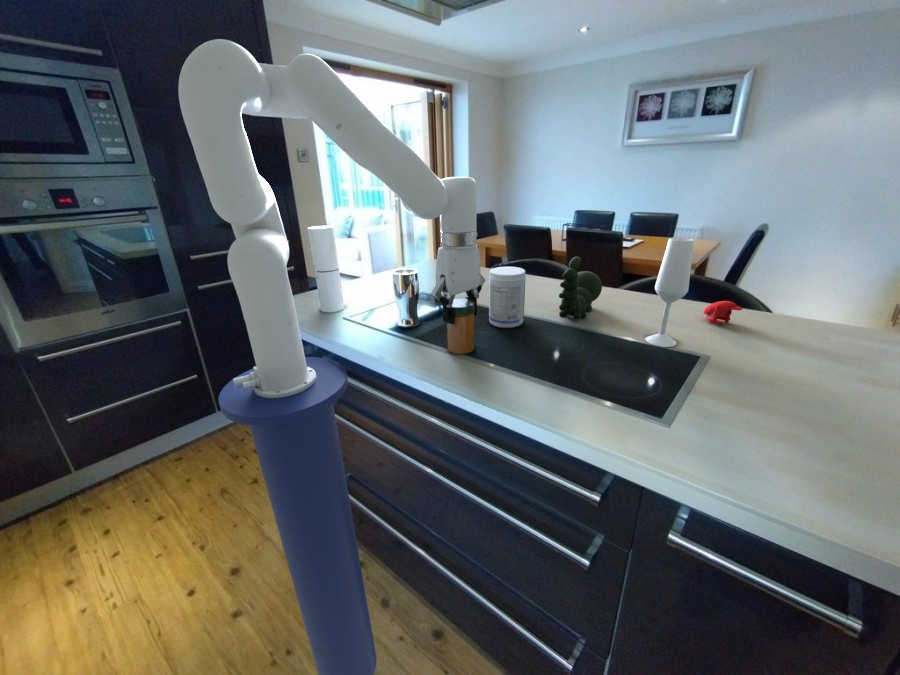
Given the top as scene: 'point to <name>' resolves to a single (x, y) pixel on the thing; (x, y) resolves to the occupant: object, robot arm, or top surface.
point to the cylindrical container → (326, 268)
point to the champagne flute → (672, 282)
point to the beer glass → (406, 296)
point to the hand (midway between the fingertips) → (460, 317)
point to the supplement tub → (506, 296)
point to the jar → (461, 334)
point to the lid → (463, 306)
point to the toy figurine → (578, 291)
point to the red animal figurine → (720, 311)
